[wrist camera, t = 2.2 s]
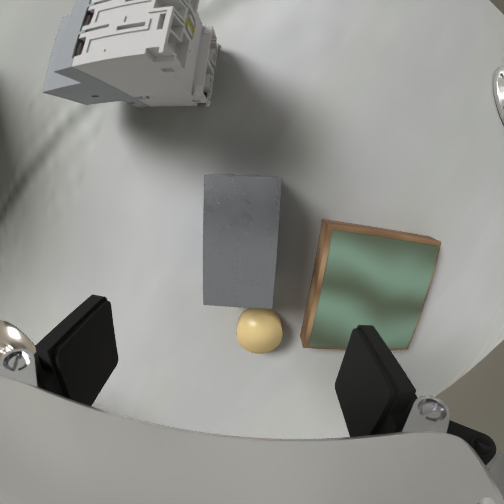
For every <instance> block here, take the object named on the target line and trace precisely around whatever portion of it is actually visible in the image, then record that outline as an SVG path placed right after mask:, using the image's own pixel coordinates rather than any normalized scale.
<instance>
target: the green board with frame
mask: <svg viewBox="0 0 504 504" xmlns="http://www.w3.org/2000/svg"><path fill="white" fill-rule="evenodd" d="M440 246H441V242H440V241H438V240H436V239H434V238H431V237H429V236H423V235H418V234H412V233H406V232H401V231H395V230H389V229H383V228H377V227H371V226H364V225H358V224H351V223H345V222H338V221H331V220H324V219H322V225H321V231H320V237H319V243H318V249H317V254H316V260H315V265H314V271H313V276H312V281H311V286H310V292H309V297H308V301H307V306H306V311H305V316H304V320H303V325H302V329H301V334H300V337H301V341H302V345H303V348H318V349H347V346H348V343H349V339H350V336H351V333H352V330H353V329H354V328H357V326H358V325H373V326H374V327H375V329H376V330H377V332H378V333H379V335H380V336H381V338H382V339H383V340H384V342H385V343H386V345H387V346H388V348H389V349H390V350H399V349H408V347H409V344H410V342H411V339H412V337H413V334H414V332H415V329H416V326H417V323H418V321H419V318H420V315H421V312H422V309H423V306H424V303H425V300H426V297H427V294H428V290H429V287H430V284H431V280H432V277H433V273H434V270H435V266H436V262H437V258H438V254H439V250H440Z"/></svg>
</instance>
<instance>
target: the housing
mask: <svg viewBox="0 0 504 504" xmlns="http://www.w3.org/2000/svg"><path fill="white" fill-rule="evenodd" d="M281 186H282V178H278V177H269V176H251V175H225V174H213V175H205V178H204V214H203V304H204V305H214V306H229V307H246V308H267V309H272V307H273V295H274V284H275V271H276V259H277V245H278V232H279V217H280V202H281Z"/></svg>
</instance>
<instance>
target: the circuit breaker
mask: <svg viewBox="0 0 504 504" xmlns="http://www.w3.org/2000/svg"><path fill="white" fill-rule="evenodd" d="M198 4H199V0H76V1H75V4H74V6H73V9H72V12H71V14H70V15H67V16H65V17H62V20H61V23H60V26H59V29H58V32H57V35H56V38H55V42H54V45H53V49H52V52H51V56H50V60H49V64H48V68H47V73H46V77H45V82H44V87H43V93H47V94H50V95H54V96H58V97H61V98H65V99H68V100H72V101H75V102H79V103H82V104H85V105H89V104H97V103H105V102H114V101H124V102H126V103H128V102H130V104H131V105H133V106H135V107H156V106H198V103H206V106H210V104H211V96H212V88H213V80H214V73H215V65H216V59H217V52H218V45H219V44H218V43H217V42H216V40H217V38H216V35H215V32H214V29H213V26H209V25H205V26H203V25H202V23H201V20H200V18H199V15H198V12H197V9H198ZM204 93H207V97H206V96H205V95H204Z"/></svg>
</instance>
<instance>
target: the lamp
mask: <svg viewBox="0 0 504 504" xmlns="http://www.w3.org/2000/svg"><path fill="white" fill-rule="evenodd" d="M14 349H27V350H29V351H31V352H32V354H33V355H34V354H35V353H36V349H35V345H34V344H33V343H32V342H31V341H30V340H29V339H28V338H27V337H26V336H25V335H24V334H23V333H22V332H21V331H20V330H19V329H18V328H16V327H15V326H13V325H12V324H10V323H8V322H5V321H0V359H1V358H2V356H3V355H4V354H5V353H7V352H8V351H11V350H14Z"/></svg>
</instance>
